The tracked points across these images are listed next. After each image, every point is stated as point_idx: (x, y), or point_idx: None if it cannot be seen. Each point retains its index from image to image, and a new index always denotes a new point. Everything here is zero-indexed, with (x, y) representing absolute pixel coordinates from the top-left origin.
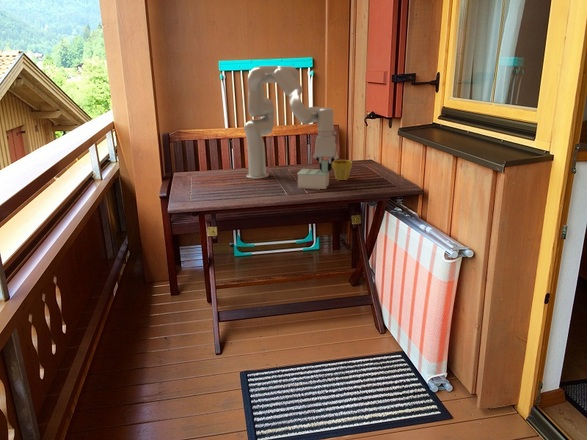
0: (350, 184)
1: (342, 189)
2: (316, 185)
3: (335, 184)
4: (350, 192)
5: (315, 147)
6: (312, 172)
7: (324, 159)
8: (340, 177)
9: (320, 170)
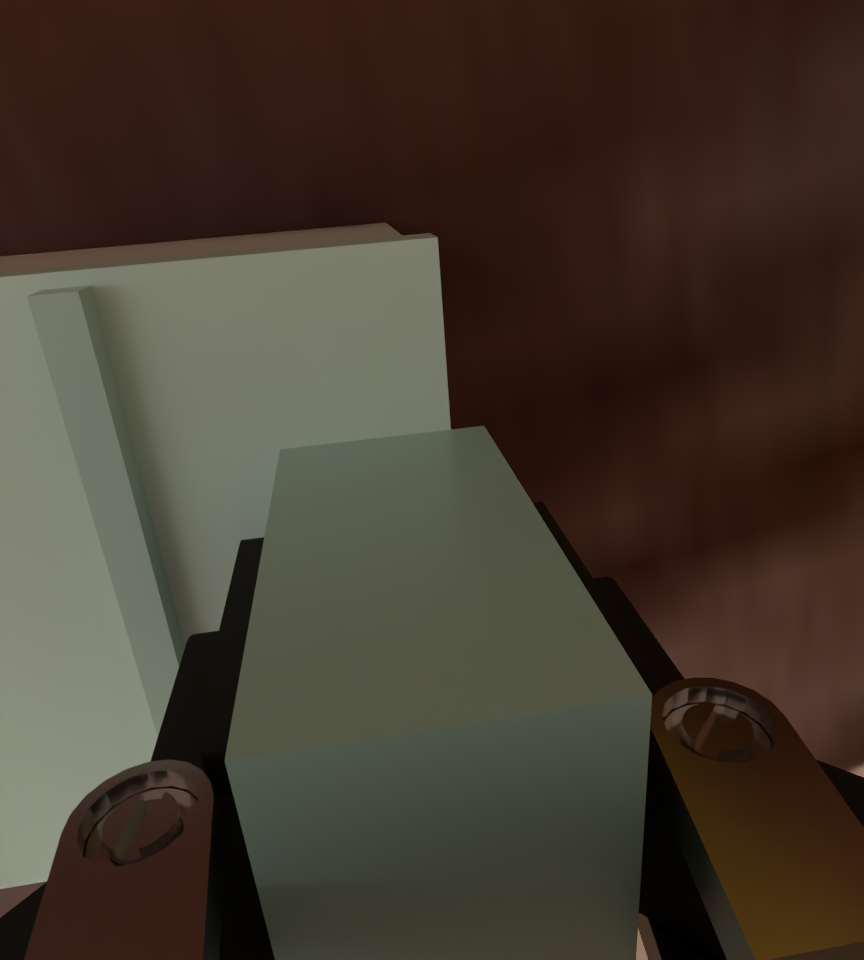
0: (834, 70)
1: (696, 488)
2: None
3: (518, 153)
4: (822, 608)
5: None
6: (31, 740)
7: (339, 833)
8: None
9: (154, 432)
